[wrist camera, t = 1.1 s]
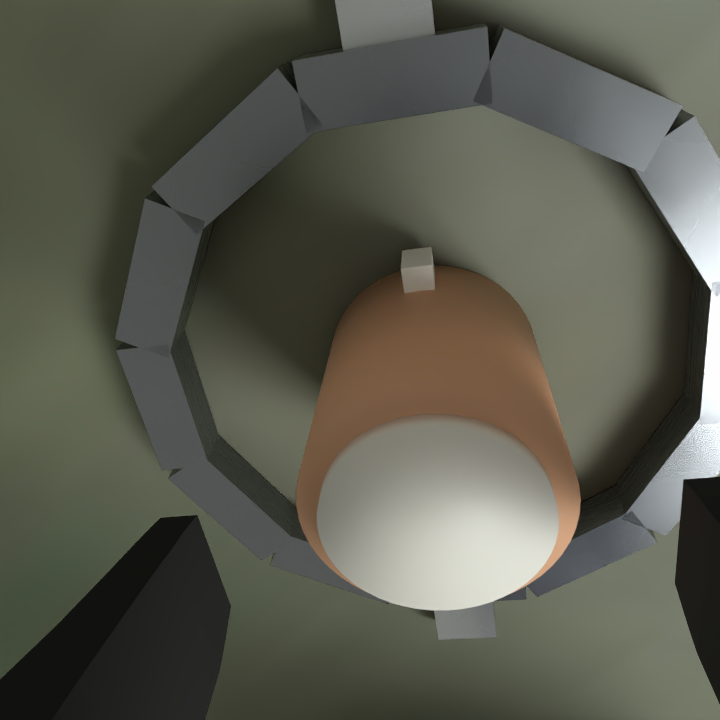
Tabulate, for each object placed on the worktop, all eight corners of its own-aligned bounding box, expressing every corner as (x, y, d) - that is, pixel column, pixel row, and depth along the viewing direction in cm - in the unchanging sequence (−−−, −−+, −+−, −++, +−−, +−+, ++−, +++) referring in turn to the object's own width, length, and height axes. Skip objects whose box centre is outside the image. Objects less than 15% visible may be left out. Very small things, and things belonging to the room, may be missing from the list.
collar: (714, 609, 18) (728, 641, 18) (242, 630, 20) (234, 659, 20) (809, -175, 10) (844, -189, 9) (9, -11, 12) (-22, -10, 11)
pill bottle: (540, 450, 16) (587, 640, 12) (353, 465, 17) (326, 650, 12) (529, 228, 14) (584, 359, 9) (309, 257, 14) (254, 391, 10)
